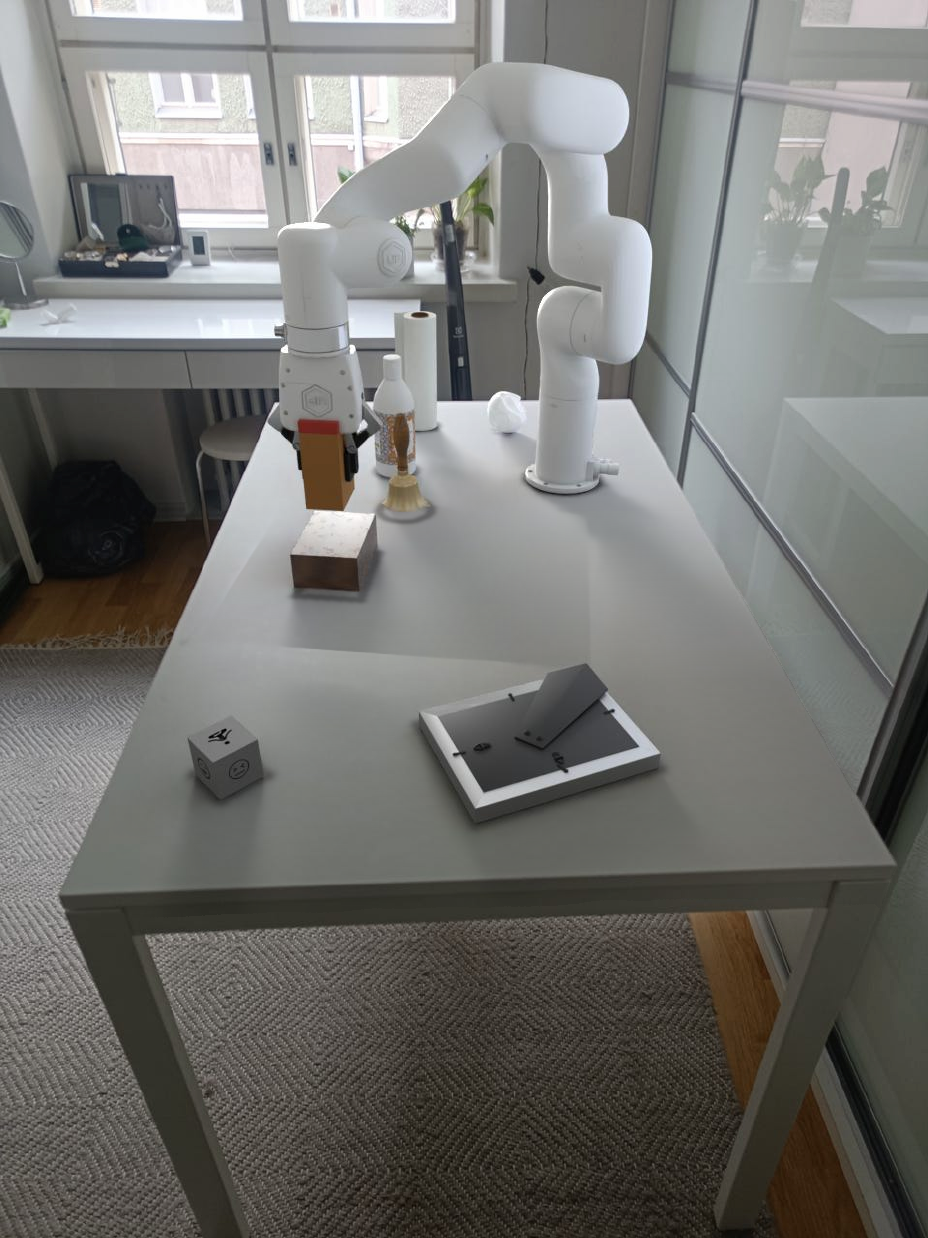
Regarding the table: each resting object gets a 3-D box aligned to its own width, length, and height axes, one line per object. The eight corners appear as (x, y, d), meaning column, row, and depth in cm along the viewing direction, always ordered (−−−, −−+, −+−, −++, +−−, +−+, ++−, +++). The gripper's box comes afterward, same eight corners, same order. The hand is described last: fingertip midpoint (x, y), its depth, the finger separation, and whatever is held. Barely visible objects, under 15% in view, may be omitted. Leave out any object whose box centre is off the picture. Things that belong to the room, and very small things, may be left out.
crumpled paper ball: (526, 439, 165) (528, 399, 161) (486, 438, 166) (487, 398, 161) (525, 424, 172) (527, 385, 168) (487, 423, 172) (488, 384, 168)
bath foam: (388, 482, 149) (383, 365, 138) (369, 468, 154) (362, 354, 143) (423, 473, 152) (421, 358, 141) (403, 459, 157) (399, 348, 146)
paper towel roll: (443, 427, 170) (442, 315, 158) (417, 434, 167) (414, 320, 155) (423, 416, 175) (421, 306, 163) (397, 422, 172) (393, 311, 160)
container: (344, 503, 121) (393, 434, 115) (332, 526, 115) (383, 455, 109) (276, 457, 118) (322, 384, 112) (260, 478, 112) (308, 403, 106)
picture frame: (584, 682, 103) (418, 725, 96) (586, 662, 101) (418, 705, 95) (658, 768, 91) (474, 824, 84) (661, 747, 89) (475, 803, 83)
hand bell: (370, 516, 138) (364, 420, 129) (391, 495, 145) (387, 402, 136) (418, 525, 136) (416, 427, 127) (438, 503, 142) (437, 408, 133)
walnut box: (378, 553, 128) (375, 513, 125) (359, 600, 118) (357, 558, 114) (318, 549, 129) (314, 510, 125) (294, 596, 118) (289, 554, 115)
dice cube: (238, 751, 92) (231, 715, 90) (263, 776, 89) (257, 739, 87) (195, 774, 90) (187, 737, 87) (220, 800, 87) (212, 762, 84)
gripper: (239, 342, 103) (257, 484, 113) (382, 348, 101) (388, 492, 111) (258, 325, 109) (274, 461, 119) (393, 331, 107) (397, 468, 117)
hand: (329, 475), depth 115 cm, fingers closed on container, 5 cm apart
